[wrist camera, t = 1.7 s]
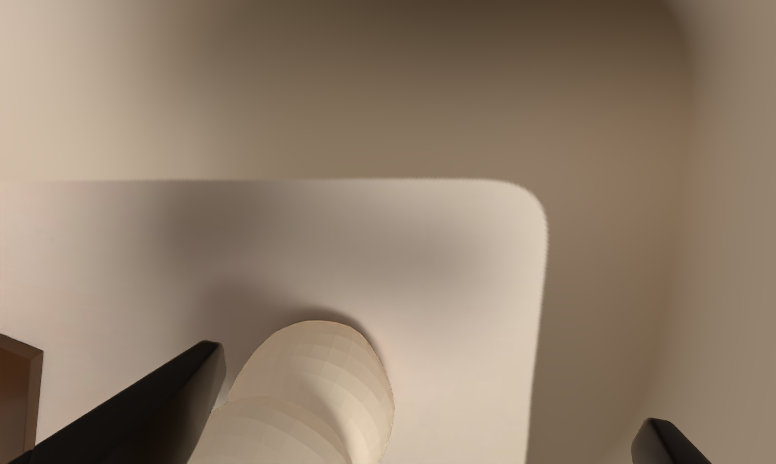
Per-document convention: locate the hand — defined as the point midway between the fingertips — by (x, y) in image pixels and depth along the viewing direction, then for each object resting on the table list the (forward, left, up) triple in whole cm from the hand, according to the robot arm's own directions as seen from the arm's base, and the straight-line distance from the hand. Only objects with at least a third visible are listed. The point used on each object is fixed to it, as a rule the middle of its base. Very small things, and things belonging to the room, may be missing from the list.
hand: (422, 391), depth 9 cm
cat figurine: (-13, -1, -15) cm, 20 cm away
